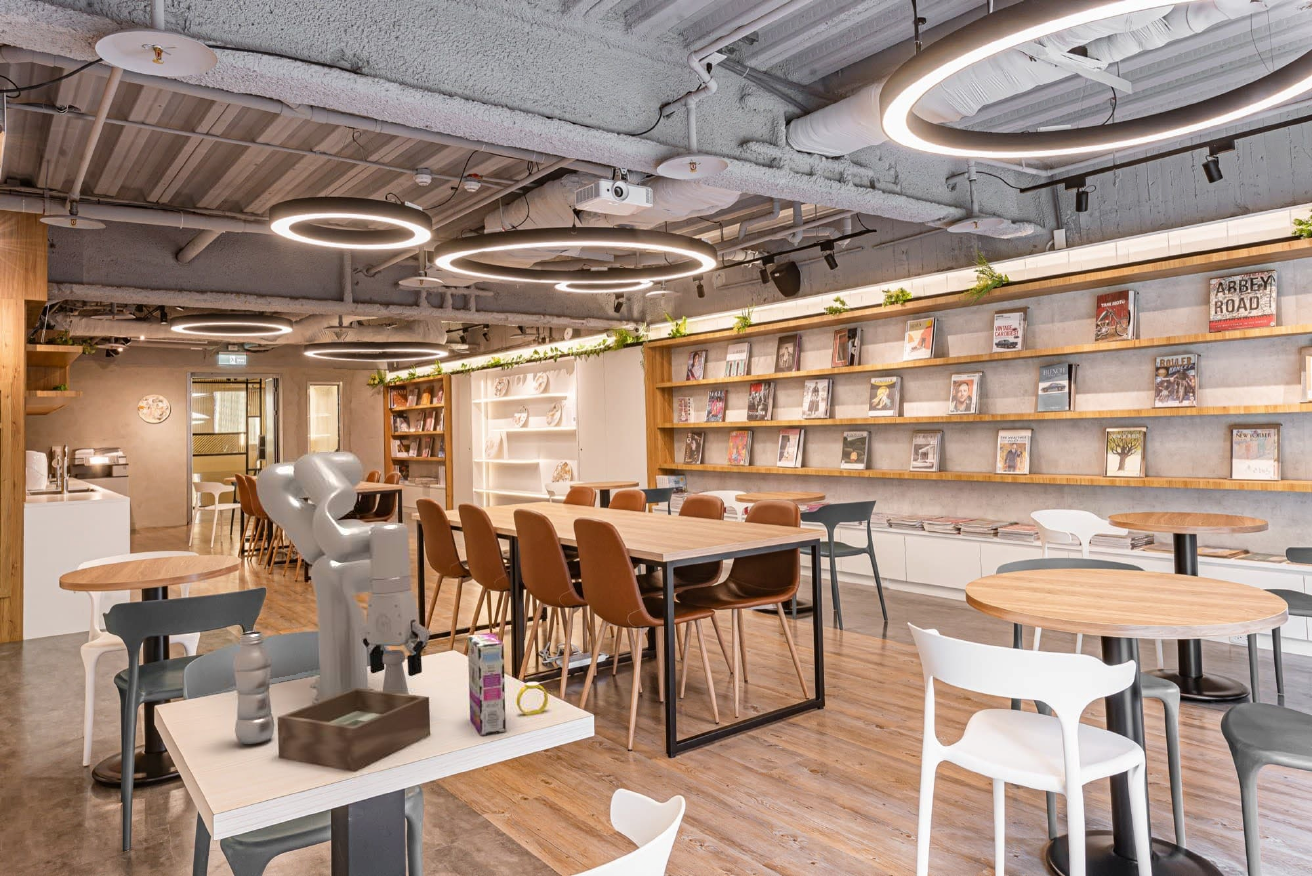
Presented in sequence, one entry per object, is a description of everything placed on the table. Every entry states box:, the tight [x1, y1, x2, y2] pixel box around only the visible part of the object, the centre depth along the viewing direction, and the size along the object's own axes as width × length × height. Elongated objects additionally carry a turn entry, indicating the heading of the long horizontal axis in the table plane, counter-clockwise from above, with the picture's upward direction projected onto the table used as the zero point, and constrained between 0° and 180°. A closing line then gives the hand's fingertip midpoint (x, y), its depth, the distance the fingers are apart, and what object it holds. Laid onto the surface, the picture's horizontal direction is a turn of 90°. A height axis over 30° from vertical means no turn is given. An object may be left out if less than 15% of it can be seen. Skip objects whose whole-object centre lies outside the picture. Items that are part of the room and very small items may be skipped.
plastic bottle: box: [232, 630, 275, 745], centre depth 152 cm, size 6×7×20 cm
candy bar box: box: [467, 632, 507, 736], centre depth 156 cm, size 11×5×16 cm, turn 23°
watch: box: [516, 681, 549, 716], centre depth 162 cm, size 6×3×6 cm, turn 114°
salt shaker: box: [381, 649, 410, 695], centre depth 163 cm, size 6×6×13 cm
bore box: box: [277, 688, 431, 772], centre depth 147 cm, size 18×18×7 cm
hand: (396, 672), depth 163 cm, fingers open, 9 cm apart
